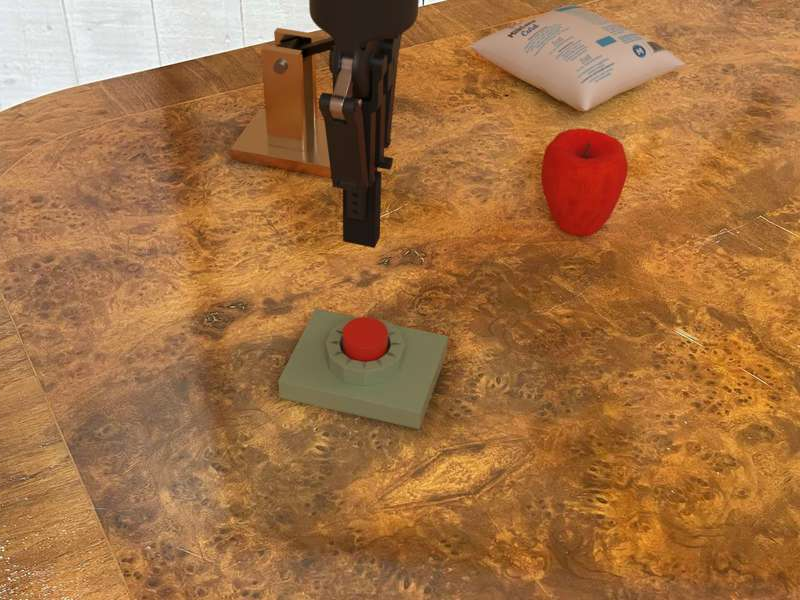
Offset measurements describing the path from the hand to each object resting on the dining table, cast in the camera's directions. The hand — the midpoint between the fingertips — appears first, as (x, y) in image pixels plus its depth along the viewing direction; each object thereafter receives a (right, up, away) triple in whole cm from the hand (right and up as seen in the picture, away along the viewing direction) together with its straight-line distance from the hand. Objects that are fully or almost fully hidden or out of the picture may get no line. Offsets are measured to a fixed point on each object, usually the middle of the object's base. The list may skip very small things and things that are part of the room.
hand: (361, 239), depth 87 cm
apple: (+22, +3, +28) cm, 36 cm away
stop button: (0, -9, +8) cm, 12 cm away
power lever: (-3, +21, +28) cm, 35 cm away
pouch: (+25, +23, +50) cm, 61 cm away
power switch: (-9, +13, +38) cm, 41 cm away
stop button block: (0, -12, +10) cm, 16 cm away
